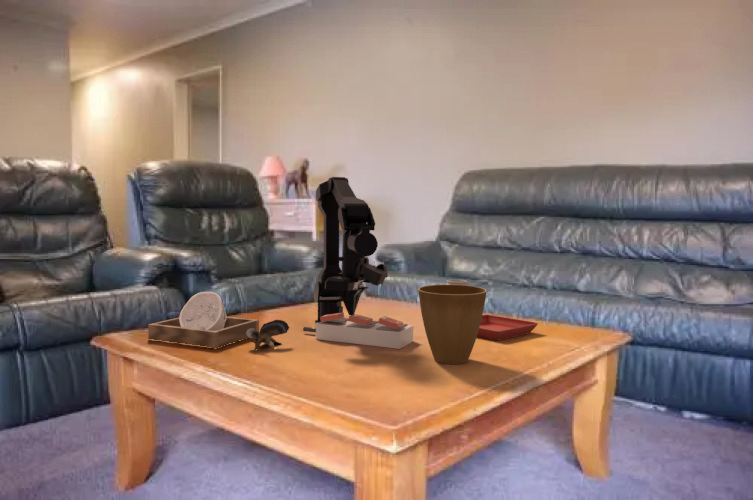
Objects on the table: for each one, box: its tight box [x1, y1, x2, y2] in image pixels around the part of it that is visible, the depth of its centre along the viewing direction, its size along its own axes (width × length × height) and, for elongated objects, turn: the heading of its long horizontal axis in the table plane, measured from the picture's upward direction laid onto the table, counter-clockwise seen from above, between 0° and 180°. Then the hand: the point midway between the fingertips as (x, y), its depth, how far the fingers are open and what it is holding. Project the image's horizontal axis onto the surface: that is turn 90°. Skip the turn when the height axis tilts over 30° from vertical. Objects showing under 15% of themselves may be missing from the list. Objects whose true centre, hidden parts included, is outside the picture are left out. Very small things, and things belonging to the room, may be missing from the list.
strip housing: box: [302, 317, 414, 350], centre depth 150 cm, size 29×9×4 cm, turn 67°
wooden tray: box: [147, 316, 260, 349], centre depth 148 cm, size 20×17×4 cm
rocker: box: [348, 313, 374, 326], centre depth 146 cm, size 5×4×1 cm
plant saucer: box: [477, 314, 539, 341], centre depth 161 cm, size 18×18×3 cm
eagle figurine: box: [246, 319, 290, 351], centre depth 139 cm, size 8×7×9 cm
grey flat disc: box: [178, 291, 228, 331], centre depth 149 cm, size 10×14×12 cm
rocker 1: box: [320, 311, 345, 322], centre depth 149 cm, size 5×4×1 cm
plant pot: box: [417, 283, 488, 365], centre depth 129 cm, size 15×15×16 cm
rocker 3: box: [377, 315, 404, 329], centre depth 143 cm, size 5×4×1 cm
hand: (351, 315), depth 147 cm, fingers closed, pressing on rocker
